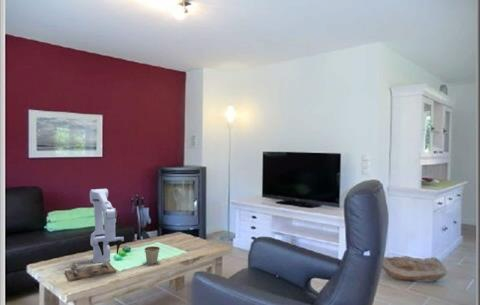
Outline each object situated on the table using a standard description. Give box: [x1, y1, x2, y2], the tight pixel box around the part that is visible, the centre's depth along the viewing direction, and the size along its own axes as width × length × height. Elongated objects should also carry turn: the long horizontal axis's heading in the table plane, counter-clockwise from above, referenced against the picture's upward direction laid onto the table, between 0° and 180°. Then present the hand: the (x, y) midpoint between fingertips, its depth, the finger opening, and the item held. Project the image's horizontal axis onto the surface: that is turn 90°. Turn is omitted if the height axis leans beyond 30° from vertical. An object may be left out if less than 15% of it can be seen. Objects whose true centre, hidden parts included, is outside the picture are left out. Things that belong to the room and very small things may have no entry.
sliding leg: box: [101, 258, 111, 268], centre depth 202 cm, size 3×8×3 cm, turn 35°
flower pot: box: [143, 246, 161, 265], centre depth 214 cm, size 9×9×9 cm
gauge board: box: [64, 263, 117, 282], centre depth 196 cm, size 24×14×6 cm, turn 125°
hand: (110, 254), depth 197 cm, fingers open, 7 cm apart
